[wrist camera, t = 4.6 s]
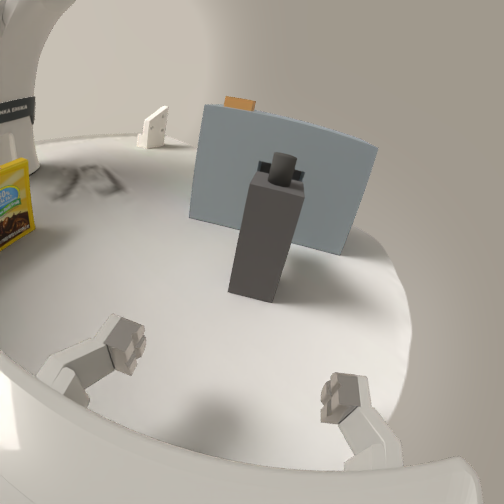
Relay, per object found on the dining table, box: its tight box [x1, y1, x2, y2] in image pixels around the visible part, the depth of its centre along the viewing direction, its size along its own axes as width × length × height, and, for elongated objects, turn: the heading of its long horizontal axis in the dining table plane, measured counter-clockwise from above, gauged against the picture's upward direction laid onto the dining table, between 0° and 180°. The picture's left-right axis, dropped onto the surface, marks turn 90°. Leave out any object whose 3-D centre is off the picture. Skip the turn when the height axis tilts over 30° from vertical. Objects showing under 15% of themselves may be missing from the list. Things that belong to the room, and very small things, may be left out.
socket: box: [189, 96, 378, 255], centre depth 31 cm, size 8×18×14 cm, turn 81°
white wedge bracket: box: [137, 106, 168, 149], centre depth 58 cm, size 4×10×9 cm, turn 153°
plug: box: [228, 152, 305, 303], centre depth 22 cm, size 8×4×11 cm, turn 171°
